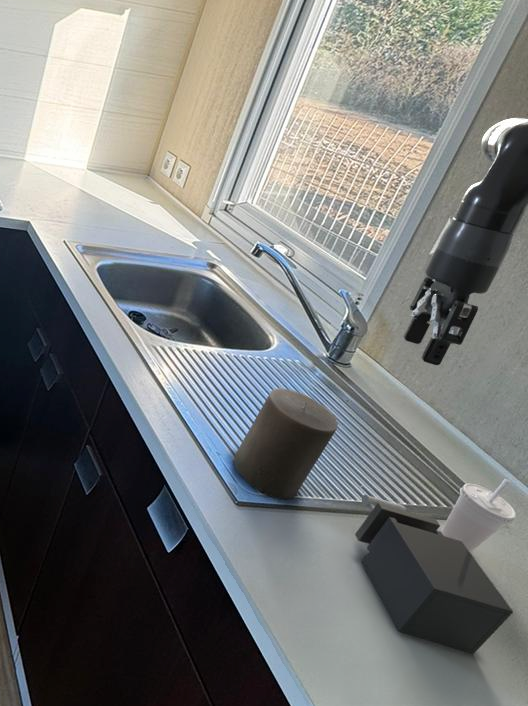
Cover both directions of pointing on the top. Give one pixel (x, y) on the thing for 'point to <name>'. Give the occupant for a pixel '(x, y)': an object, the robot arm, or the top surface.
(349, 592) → the top surface
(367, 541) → the dark grey angled piece
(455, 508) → the smoothie
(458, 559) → the dark grey box
